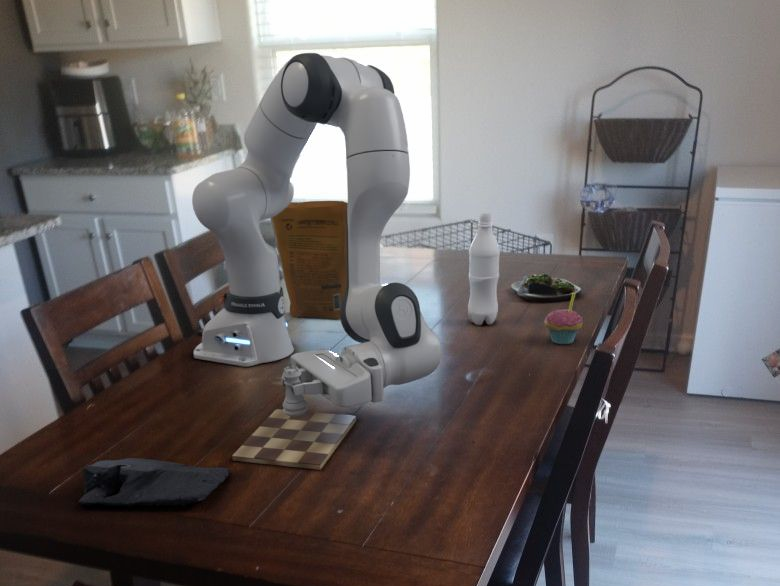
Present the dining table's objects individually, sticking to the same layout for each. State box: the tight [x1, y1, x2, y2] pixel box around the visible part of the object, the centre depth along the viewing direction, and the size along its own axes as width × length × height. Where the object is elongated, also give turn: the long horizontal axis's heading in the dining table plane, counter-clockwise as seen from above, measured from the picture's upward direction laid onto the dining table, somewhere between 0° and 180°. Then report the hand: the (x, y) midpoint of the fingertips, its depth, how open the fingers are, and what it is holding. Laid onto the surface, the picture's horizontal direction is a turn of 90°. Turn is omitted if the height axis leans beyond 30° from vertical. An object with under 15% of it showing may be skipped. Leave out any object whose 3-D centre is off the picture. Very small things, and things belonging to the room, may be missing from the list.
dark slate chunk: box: [78, 457, 230, 508], centre depth 135 cm, size 15×22×5 cm
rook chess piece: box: [281, 365, 309, 416], centre depth 146 cm, size 4×4×8 cm
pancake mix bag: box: [269, 200, 348, 320], centre depth 204 cm, size 7×19×28 cm, turn 75°
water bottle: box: [467, 212, 501, 326], centre depth 197 cm, size 7×7×25 cm
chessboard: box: [231, 408, 357, 471], centre depth 150 cm, size 16×20×1 cm
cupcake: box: [544, 289, 585, 345], centre depth 187 cm, size 9×8×12 cm
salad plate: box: [511, 273, 582, 304], centre depth 222 cm, size 19×18×5 cm
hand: (288, 386), depth 145 cm, fingers closed on rook chess piece, 3 cm apart
